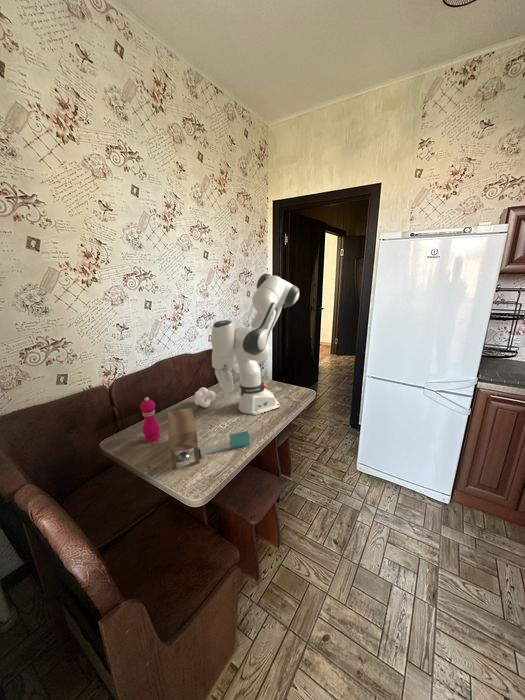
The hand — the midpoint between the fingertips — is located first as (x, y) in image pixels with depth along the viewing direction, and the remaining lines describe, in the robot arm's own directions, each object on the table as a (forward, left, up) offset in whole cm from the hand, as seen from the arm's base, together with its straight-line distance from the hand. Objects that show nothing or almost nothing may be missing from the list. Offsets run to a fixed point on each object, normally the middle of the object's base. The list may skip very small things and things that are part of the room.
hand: (224, 394), depth 114 cm
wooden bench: (+18, -1, -23) cm, 29 cm away
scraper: (+1, +3, -23) cm, 23 cm away
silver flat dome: (+18, +3, -23) cm, 30 cm away
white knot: (+5, -42, -23) cm, 48 cm away
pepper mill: (+31, -16, -23) cm, 42 cm away
